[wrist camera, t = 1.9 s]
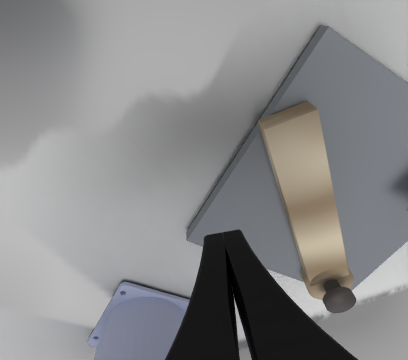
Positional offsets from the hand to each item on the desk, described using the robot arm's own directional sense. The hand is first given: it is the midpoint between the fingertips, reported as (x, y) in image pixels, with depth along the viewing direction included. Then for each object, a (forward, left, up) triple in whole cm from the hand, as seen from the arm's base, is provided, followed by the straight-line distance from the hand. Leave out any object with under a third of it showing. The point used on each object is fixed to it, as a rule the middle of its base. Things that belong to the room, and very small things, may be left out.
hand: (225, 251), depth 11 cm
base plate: (+1, -10, -9) cm, 14 cm away
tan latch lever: (-1, -9, -8) cm, 12 cm away
